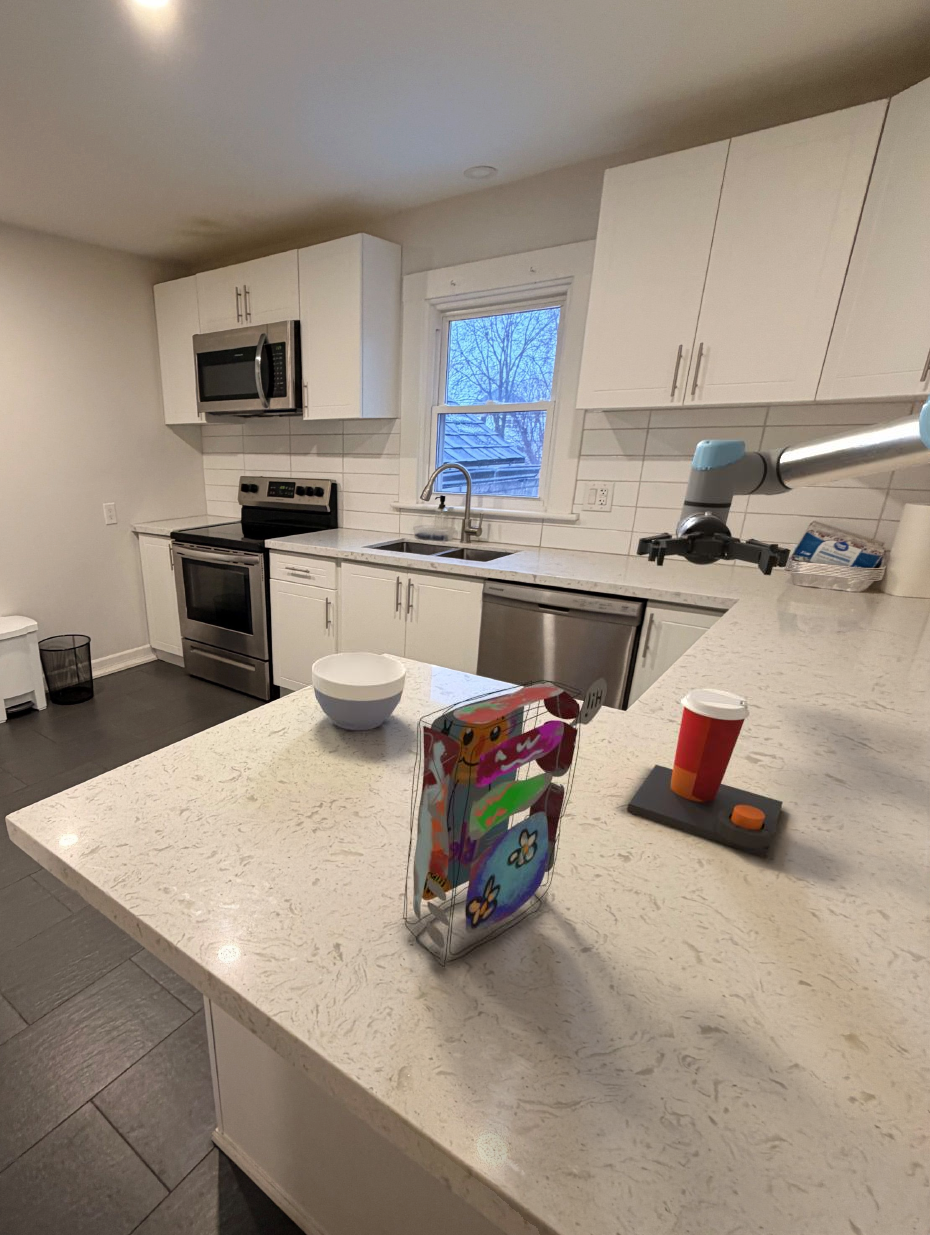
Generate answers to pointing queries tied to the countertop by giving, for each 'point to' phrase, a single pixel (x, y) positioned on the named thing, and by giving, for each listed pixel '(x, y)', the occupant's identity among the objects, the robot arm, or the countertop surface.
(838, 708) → the countertop surface
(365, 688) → the bowl
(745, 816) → the tare button
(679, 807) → the scale
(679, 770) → the paper cup
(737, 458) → the robot arm
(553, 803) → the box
